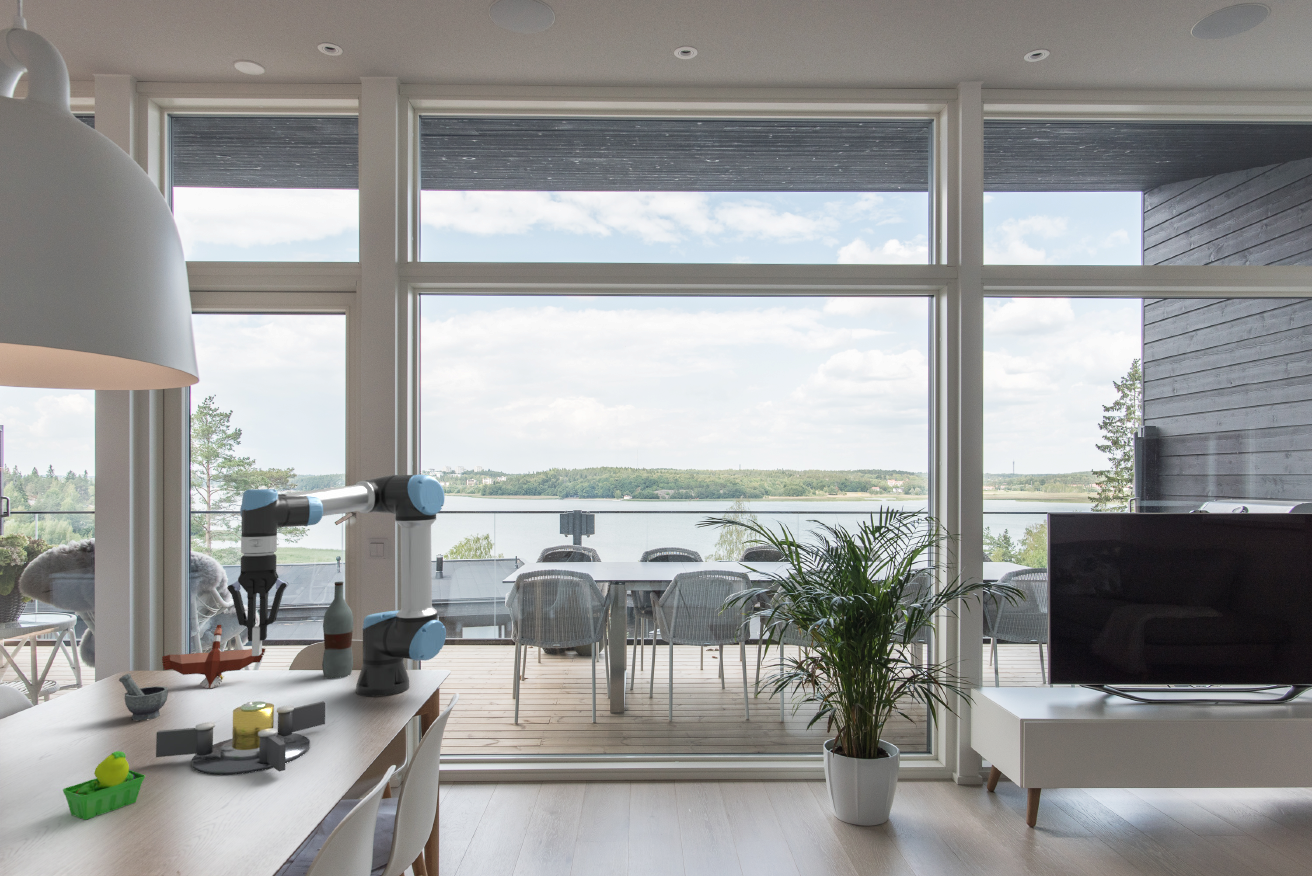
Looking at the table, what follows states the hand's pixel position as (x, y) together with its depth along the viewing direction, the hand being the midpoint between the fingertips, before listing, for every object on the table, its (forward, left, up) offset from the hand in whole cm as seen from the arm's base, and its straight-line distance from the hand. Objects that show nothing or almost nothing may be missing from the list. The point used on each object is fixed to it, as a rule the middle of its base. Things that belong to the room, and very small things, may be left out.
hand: (256, 654), depth 177 cm
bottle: (-8, -68, -23) cm, 72 cm away
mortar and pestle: (+36, -36, -23) cm, 56 cm away
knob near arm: (-8, -9, -21) cm, 24 cm away
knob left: (-7, +14, -21) cm, 26 cm away
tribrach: (0, +2, -22) cm, 22 cm away
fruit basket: (+20, +26, -23) cm, 40 cm away
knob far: (+14, +2, -21) cm, 25 cm away
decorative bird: (+28, -68, -23) cm, 77 cm away
